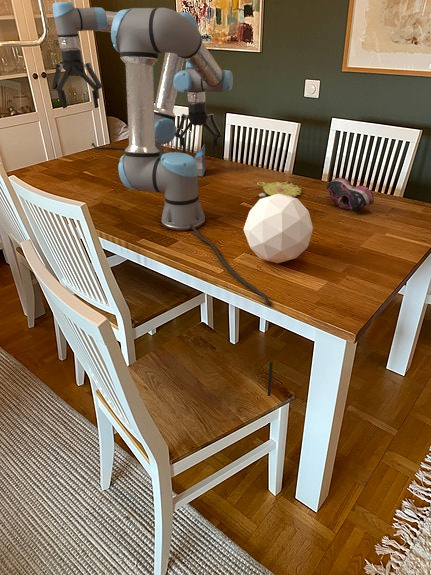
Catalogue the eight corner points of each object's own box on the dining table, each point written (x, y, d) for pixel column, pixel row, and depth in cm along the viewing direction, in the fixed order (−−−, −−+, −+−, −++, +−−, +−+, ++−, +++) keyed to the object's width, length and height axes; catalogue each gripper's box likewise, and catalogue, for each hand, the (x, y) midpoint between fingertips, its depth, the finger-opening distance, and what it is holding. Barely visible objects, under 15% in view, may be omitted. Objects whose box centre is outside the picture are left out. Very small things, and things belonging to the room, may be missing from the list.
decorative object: (287, 199, 166) (244, 186, 176) (286, 205, 167) (244, 192, 178) (314, 184, 179) (272, 172, 189) (313, 190, 181) (272, 178, 191)
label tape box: (197, 170, 205) (196, 143, 198) (206, 170, 205) (205, 143, 198) (194, 176, 198) (193, 148, 191) (203, 176, 197) (202, 148, 191)
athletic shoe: (336, 177, 172) (311, 184, 169) (376, 171, 153) (348, 180, 149) (341, 205, 175) (316, 213, 171) (381, 204, 156) (354, 213, 152)
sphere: (285, 285, 132) (293, 258, 113) (230, 249, 136) (230, 218, 118) (319, 238, 137) (332, 204, 118) (265, 205, 141) (270, 168, 122)
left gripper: (35, 51, 169) (48, 109, 181) (98, 49, 167) (107, 109, 178) (43, 49, 176) (55, 106, 187) (104, 47, 173) (112, 105, 184)
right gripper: (165, 104, 183) (170, 155, 195) (225, 103, 180) (226, 155, 192) (169, 100, 189) (173, 150, 201) (227, 100, 187) (228, 150, 198)
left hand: (80, 107), depth 183 cm, fingers open, 13 cm apart
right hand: (199, 153), depth 197 cm, fingers open, 13 cm apart
